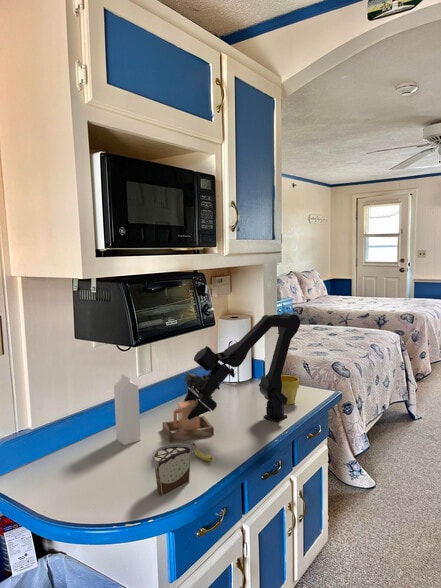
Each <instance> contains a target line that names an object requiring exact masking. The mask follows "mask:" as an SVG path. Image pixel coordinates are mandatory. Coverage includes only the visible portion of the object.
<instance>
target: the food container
mask: <svg viewBox="0 0 441 588" xmlns="http://www.w3.org/2000/svg"><path fill="white" fill-rule="evenodd" d="M192 453H193V448H192V445H190V444H188V443H187V444H185V443H170V444H166V445H162V446H160V447H158V448H157V449H156V450H154V452H153V455H152V458H151V466H152V467H153V468H154V473H155V481H156V489H157V493H158V495H159V496H160V497H161V498H163V497H165V496H166V495H169V494H170V493H172V492H174V491H176V490H177V489H180V488H181V487H183V486H185V485H187V484H189V483H190V479H191V478H190V476H191V456H192V455H191V454H192Z"/></svg>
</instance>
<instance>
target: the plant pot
mask: <svg viewBox="0 0 441 588" xmlns="http://www.w3.org/2000/svg"><path fill="white" fill-rule="evenodd" d="M281 380H282V392H281V393H282V394H283V395H284V396H285V397H287V398H288V400H287V403H286V404H284V406H286V405H289V406H290V405H293V404H295V403H296V402H295V401H296V397H297V392H298V389H299V388H300V378H299V377H298V376H294V375H286V374H285V375H284V374H283V375H281Z"/></svg>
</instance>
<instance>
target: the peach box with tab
mask: <svg viewBox="0 0 441 588" xmlns="http://www.w3.org/2000/svg"><path fill="white" fill-rule="evenodd" d="M195 405H196V401H195V400H190V401H184V400H183V401H177V408H176V409H173V410H172V417H173V418H172V421H173V422H174V428H175V429H178V432H182V431H188V430H194V429H201V424H200V417H201V416H200V415H199V416H197V417H195V418H192V419H190V420H189V419H188V418H187V417H188V415H189V414H190V412H191V411H192V409H193V408H194V406H195ZM177 420H178V423H177ZM177 427H179V428H177Z"/></svg>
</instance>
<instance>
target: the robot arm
mask: <svg viewBox="0 0 441 588" xmlns="http://www.w3.org/2000/svg"><path fill="white" fill-rule="evenodd" d="M300 326H301V318H300V317H299V315H297V314H295V313H291V312H283V313H281V314H269V315H268V314H264V315H263V316H262V317H261V319H260V320H259V321H257V323H256V324H255V325H254V326H253V327H251V329H250V330H249V331H247V333H246V334H245V335H244V336H243V337H242V338H241V339H240V340H239V341H237V342H235V343H233V344H231V345H230V346H228V347H227V348H225V349H224V350H223V351H221V352H217V353H215V352H214V351H213V350H212V348H210V347H209V346H208V345H206V346H205V347H204V348H202V349H200V350H199V351H197V352H196V354H195V355H194V357H193V361H194V362H195V363H196V364H197V365H198V366H199V367H201V368H202V369H203V370H204V371H208V373H207V374H203V375H202V376H201V375H198V374H194V373H192V372H187V373H186V376H185V379H184V382H185V385H186V388H185V389H186V394H185V398H184V399H183V401H190V400H195V401H196V405H195V406H194V408H193V409H192V411H191V412H190V414H189V415H188V417H187V418H188V419H189V420H190V419H192V418H195V417H197V416H199V415H201V416H202V415H203V414H205V413H207V412H214V411H215V409H216V408H217V405H218V403H217V402H216V401H215V399H213V394H214V393H215V392H216V391H219V390H220V389H221V387H220V386H221V384H222V383H223V382H224V381H225V380H226V378H228V376H231V377H232V378H235V377H236V376H235V375H236V374H235V368H239V367H240V366H241V365H242V364H243V363H244V361H245V359H246V358H247V355H248V354H249V352H250V349H252V348H253V347H254V346H255V345H256V343H258V342H259V340H261V338H262V337H264V335H265V334H267V332H269V330H270V329H271V328H277V333H278V337H277V340H276V344H275V346H274V352H273V355H272V358H271V362H270V366H269V369H268V373H267V374H266V375H261V377H260V381H259V384H258V387H259V392H260V394H262V396H263V397H264V399H265V400H267V402H266V407H265V408H266V409H265V411H266V414H265V415H263V418H265V419H267V420H270V421H274V422H276V423H277V422H280V421H282V420H284V419H286V418H288V415H287V414H285V404H286V403H287V400H288V398H287V397H285V396H284V395H283V394H282V393H281V392H282V380H281V375H282V374H283V371H284V368H285V363H286V360H287V357H288V353H289V348H290V346H291V341H292V339H293V338H294V337H295V336H296V334H298V333H297V332H298V331H299V328H300ZM220 362H221V363H220ZM229 366H230V367H229Z"/></svg>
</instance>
